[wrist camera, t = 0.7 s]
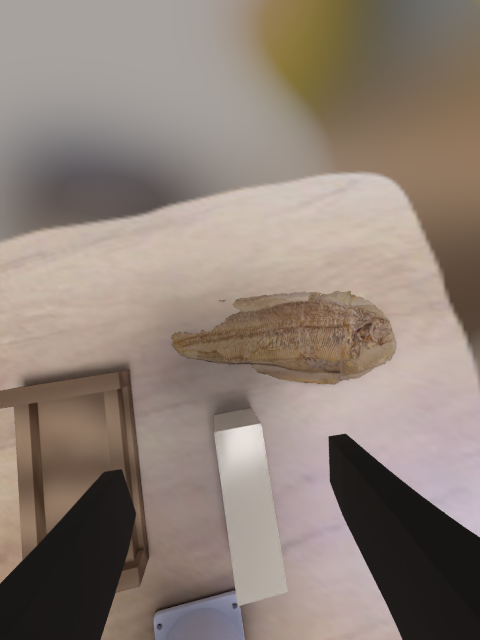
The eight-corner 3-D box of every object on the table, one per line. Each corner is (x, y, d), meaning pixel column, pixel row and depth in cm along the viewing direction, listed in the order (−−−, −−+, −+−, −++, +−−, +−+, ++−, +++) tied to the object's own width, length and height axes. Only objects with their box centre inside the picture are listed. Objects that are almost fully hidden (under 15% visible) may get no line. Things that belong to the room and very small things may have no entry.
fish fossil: (170, 389, 27) (168, 390, 26) (168, 297, 29) (166, 294, 28) (398, 370, 29) (405, 370, 28) (381, 285, 31) (387, 282, 30)
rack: (148, 557, 24) (139, 586, 21) (36, 585, 23) (10, 619, 20) (128, 369, 26) (118, 372, 23) (24, 386, 25) (-2, 391, 22)
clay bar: (270, 537, 26) (287, 592, 20) (232, 546, 25) (237, 606, 20) (250, 407, 27) (261, 423, 21) (213, 414, 27) (213, 432, 21)
